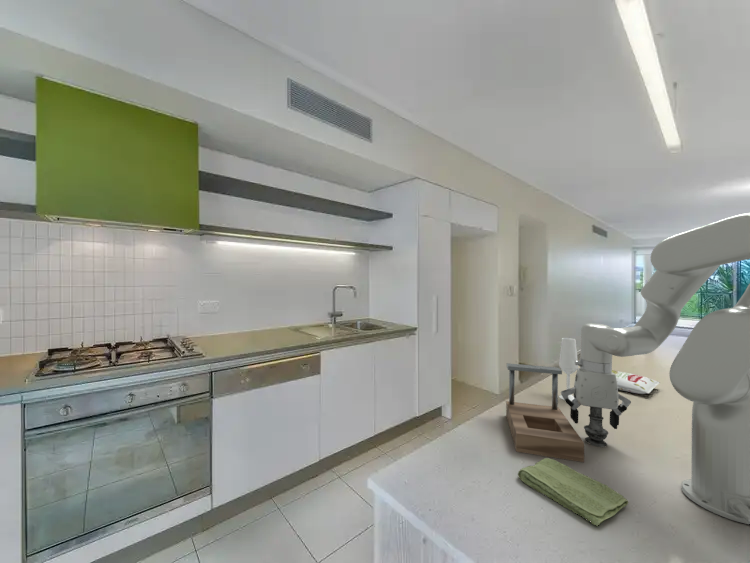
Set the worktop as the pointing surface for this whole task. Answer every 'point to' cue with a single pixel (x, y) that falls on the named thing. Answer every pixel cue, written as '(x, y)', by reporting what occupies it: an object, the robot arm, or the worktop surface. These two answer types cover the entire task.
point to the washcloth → (573, 490)
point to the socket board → (543, 432)
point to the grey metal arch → (531, 368)
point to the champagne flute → (568, 360)
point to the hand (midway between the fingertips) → (593, 424)
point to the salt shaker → (596, 428)
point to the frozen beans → (634, 383)
